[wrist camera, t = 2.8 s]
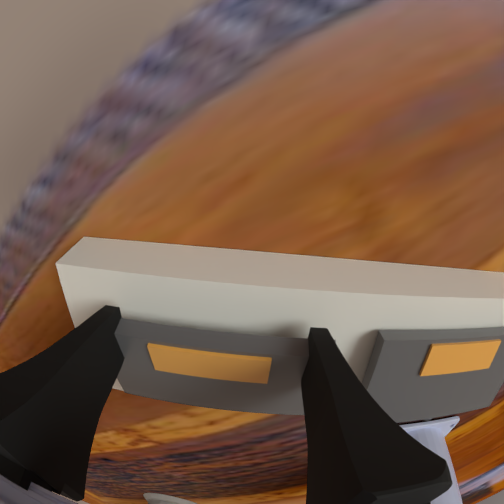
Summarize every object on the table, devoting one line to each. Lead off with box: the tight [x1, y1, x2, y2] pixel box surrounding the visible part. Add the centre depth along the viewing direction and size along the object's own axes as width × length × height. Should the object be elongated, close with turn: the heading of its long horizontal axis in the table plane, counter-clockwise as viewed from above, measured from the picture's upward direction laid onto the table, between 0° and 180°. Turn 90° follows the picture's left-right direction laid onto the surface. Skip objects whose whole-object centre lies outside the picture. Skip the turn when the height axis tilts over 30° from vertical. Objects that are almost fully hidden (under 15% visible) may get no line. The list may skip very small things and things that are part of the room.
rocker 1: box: [114, 318, 336, 415], centre depth 12 cm, size 5×9×1 cm, turn 86°
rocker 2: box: [361, 327, 504, 423], centre depth 12 cm, size 5×9×1 cm, turn 86°
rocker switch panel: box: [56, 237, 504, 421], centre depth 15 cm, size 12×25×3 cm, turn 86°
